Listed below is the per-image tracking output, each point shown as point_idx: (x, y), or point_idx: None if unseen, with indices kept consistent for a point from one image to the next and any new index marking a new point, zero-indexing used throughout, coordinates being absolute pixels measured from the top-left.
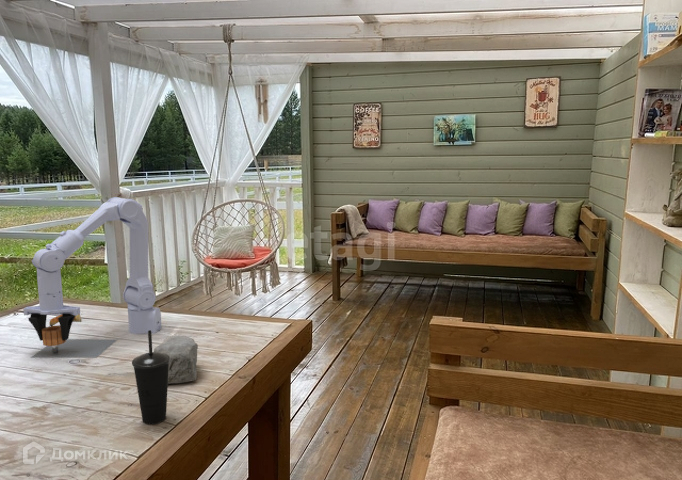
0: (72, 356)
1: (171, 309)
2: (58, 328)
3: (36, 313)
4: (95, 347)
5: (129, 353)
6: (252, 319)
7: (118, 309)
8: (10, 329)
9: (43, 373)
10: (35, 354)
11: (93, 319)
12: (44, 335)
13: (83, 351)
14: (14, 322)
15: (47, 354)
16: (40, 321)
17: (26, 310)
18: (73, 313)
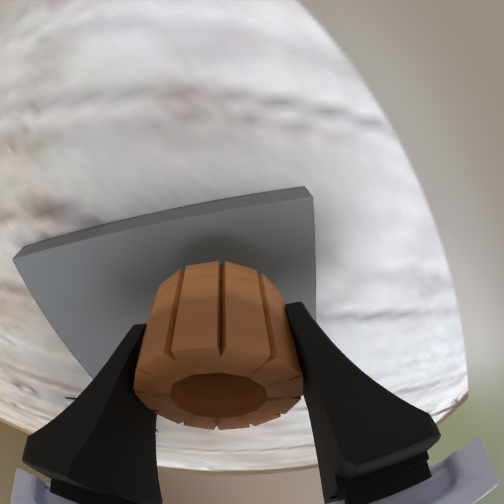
0: (94, 249)
1: (182, 472)
2: (213, 407)
3: (380, 498)
4: (99, 340)
5: (20, 324)
6: (31, 432)
7: (284, 465)
8: (458, 367)
9: (131, 77)
10: (309, 236)
11: (306, 444)
12: (238, 321)
13: (103, 305)
14: (454, 386)
15: (242, 247)
16: (324, 440)
17: (473, 486)
18: (29, 487)
